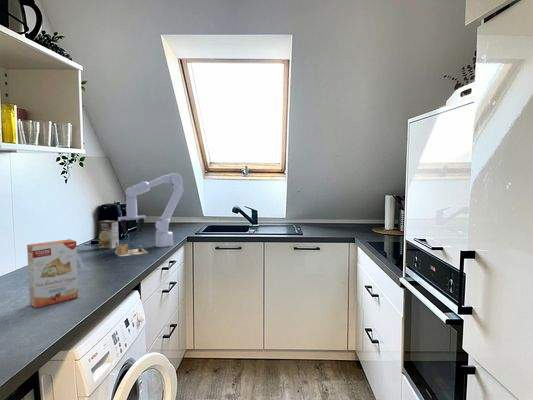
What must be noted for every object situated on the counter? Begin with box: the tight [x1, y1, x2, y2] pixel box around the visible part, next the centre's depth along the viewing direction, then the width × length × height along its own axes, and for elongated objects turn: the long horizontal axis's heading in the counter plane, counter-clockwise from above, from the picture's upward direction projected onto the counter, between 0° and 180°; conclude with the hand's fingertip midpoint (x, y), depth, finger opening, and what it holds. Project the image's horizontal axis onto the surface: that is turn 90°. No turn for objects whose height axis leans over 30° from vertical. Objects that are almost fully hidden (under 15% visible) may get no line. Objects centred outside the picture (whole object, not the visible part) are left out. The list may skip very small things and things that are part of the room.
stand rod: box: [137, 245, 143, 252], centre depth 203 cm, size 2×2×3 cm
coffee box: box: [98, 219, 120, 249], centre depth 214 cm, size 9×6×16 cm
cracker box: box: [26, 238, 79, 309], centre depth 129 cm, size 14×6×21 cm, turn 138°
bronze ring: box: [115, 243, 130, 254], centre depth 198 cm, size 6×6×4 cm
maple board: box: [114, 247, 149, 257], centre depth 201 cm, size 15×13×1 cm
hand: (132, 232), depth 210 cm, fingers open, 7 cm apart
